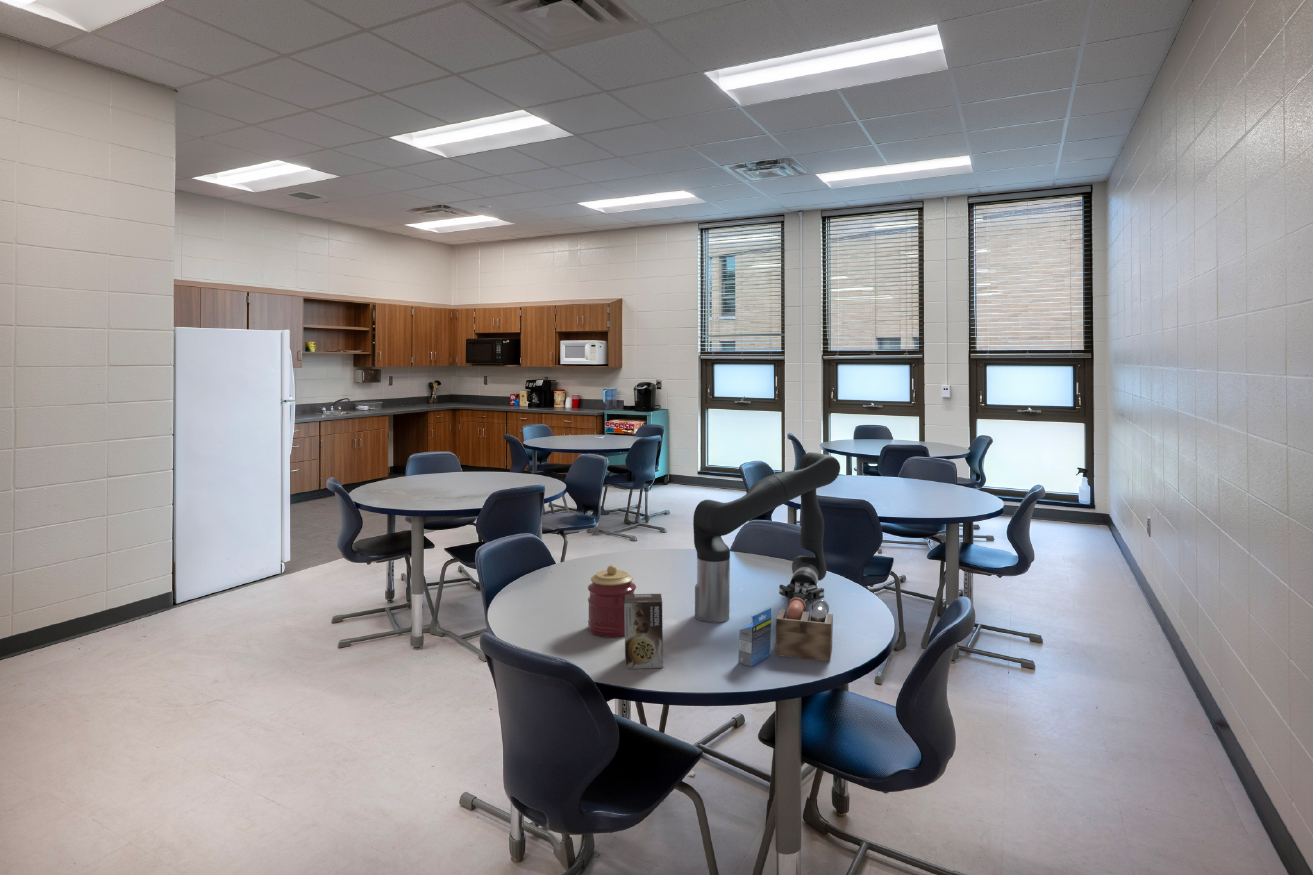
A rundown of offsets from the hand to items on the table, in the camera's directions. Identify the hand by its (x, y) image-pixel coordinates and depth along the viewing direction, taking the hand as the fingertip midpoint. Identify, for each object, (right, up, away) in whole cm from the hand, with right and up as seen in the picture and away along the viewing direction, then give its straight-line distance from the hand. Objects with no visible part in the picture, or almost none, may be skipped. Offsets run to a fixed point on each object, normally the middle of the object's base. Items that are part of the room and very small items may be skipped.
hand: (798, 600), depth 192 cm
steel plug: (+3, -3, -10) cm, 11 cm away
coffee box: (-41, -10, -21) cm, 47 cm away
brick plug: (-2, -3, -8) cm, 9 cm away
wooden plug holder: (-1, -9, -14) cm, 17 cm away
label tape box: (-14, -10, -19) cm, 26 cm away
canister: (-50, -8, +1) cm, 51 cm away
